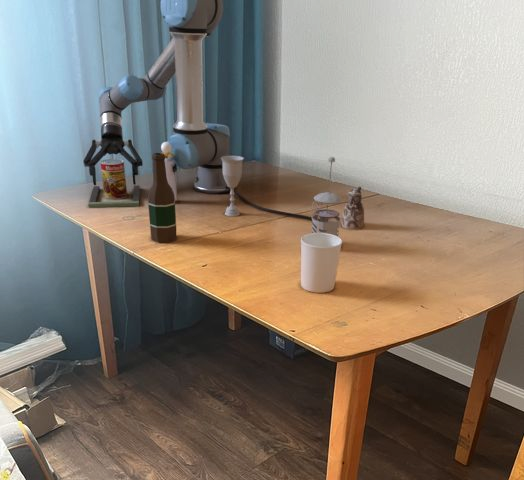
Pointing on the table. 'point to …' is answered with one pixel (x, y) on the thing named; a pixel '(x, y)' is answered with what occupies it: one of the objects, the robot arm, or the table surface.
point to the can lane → (94, 202)
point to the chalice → (232, 179)
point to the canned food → (113, 178)
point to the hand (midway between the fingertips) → (114, 183)
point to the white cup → (319, 261)
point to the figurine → (353, 210)
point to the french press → (326, 211)
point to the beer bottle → (161, 203)
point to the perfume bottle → (170, 166)
